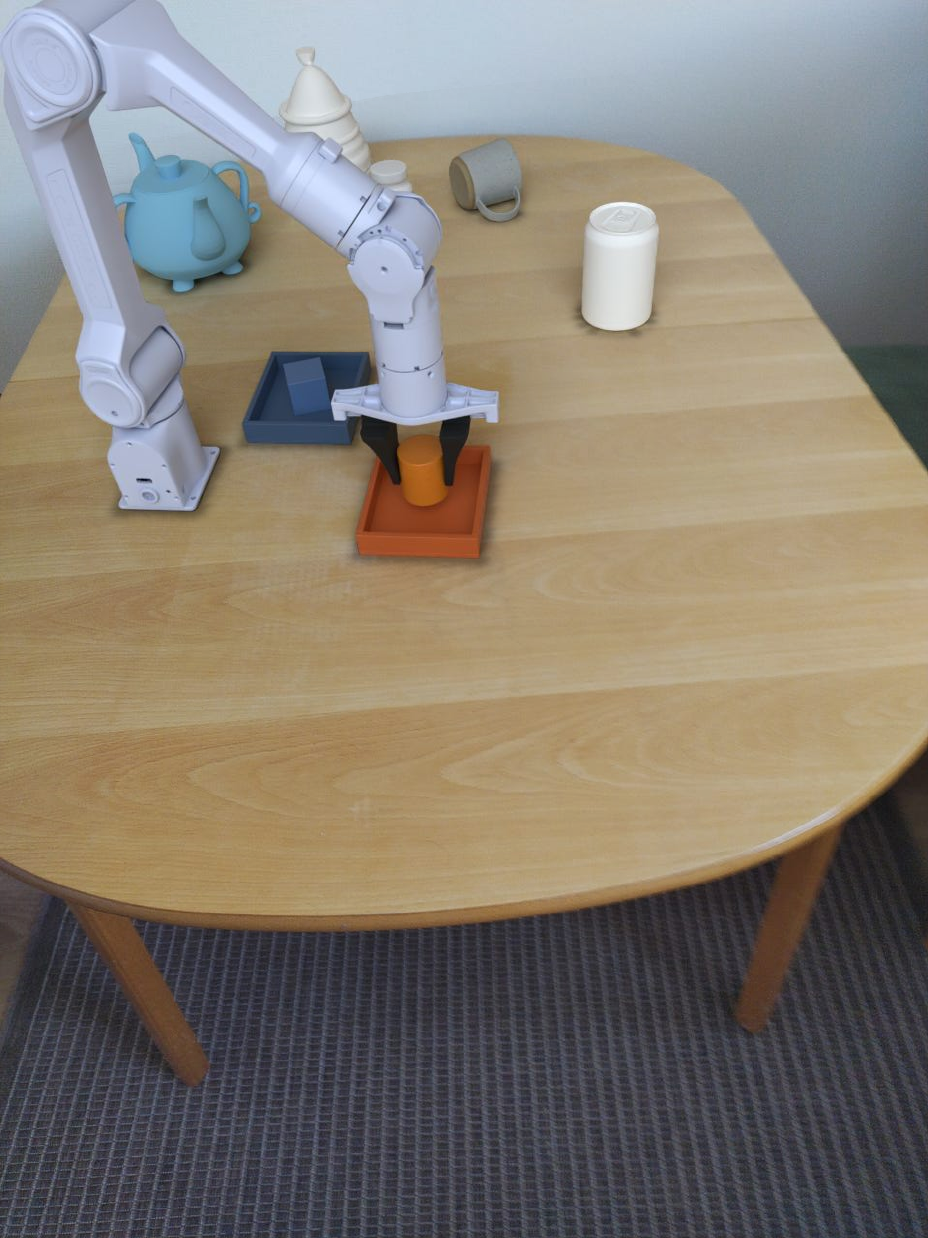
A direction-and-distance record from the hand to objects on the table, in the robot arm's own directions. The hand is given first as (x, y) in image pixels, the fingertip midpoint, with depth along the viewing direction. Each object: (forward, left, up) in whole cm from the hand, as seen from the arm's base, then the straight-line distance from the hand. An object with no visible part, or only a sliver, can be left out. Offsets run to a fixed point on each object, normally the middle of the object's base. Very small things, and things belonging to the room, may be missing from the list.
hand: (424, 478), depth 89 cm
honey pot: (+67, +23, -4) cm, 71 cm away
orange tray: (0, 0, -4) cm, 4 cm away
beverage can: (+34, -18, -4) cm, 39 cm away
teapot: (+46, +37, -4) cm, 59 cm away
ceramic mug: (+62, -1, -4) cm, 62 cm away
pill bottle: (+52, +11, -4) cm, 53 cm away
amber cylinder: (0, 0, -2) cm, 2 cm away
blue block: (+16, +15, -3) cm, 22 cm away
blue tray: (+16, +15, -4) cm, 22 cm away
